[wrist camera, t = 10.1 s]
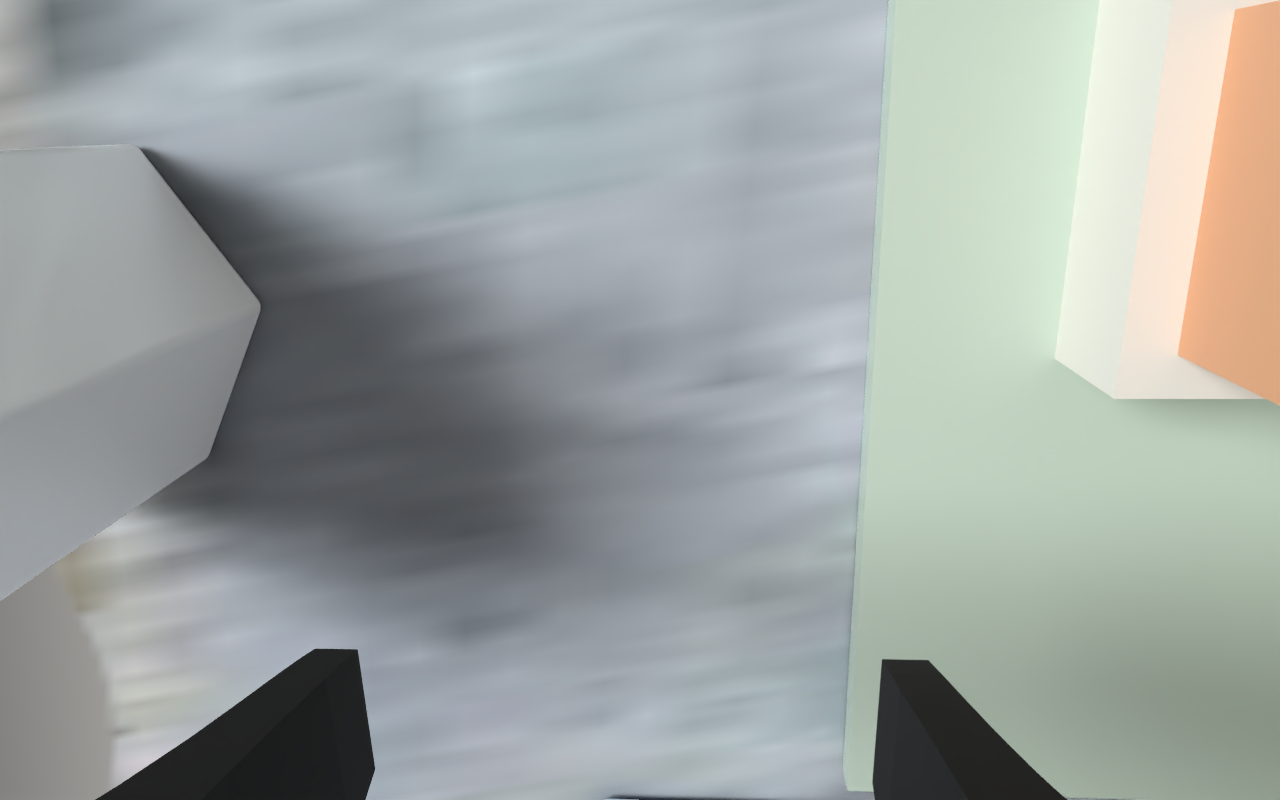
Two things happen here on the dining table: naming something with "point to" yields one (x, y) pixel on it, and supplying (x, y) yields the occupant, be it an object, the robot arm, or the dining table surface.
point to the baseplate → (1044, 452)
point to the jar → (103, 346)
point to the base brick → (1144, 197)
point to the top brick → (1241, 218)
